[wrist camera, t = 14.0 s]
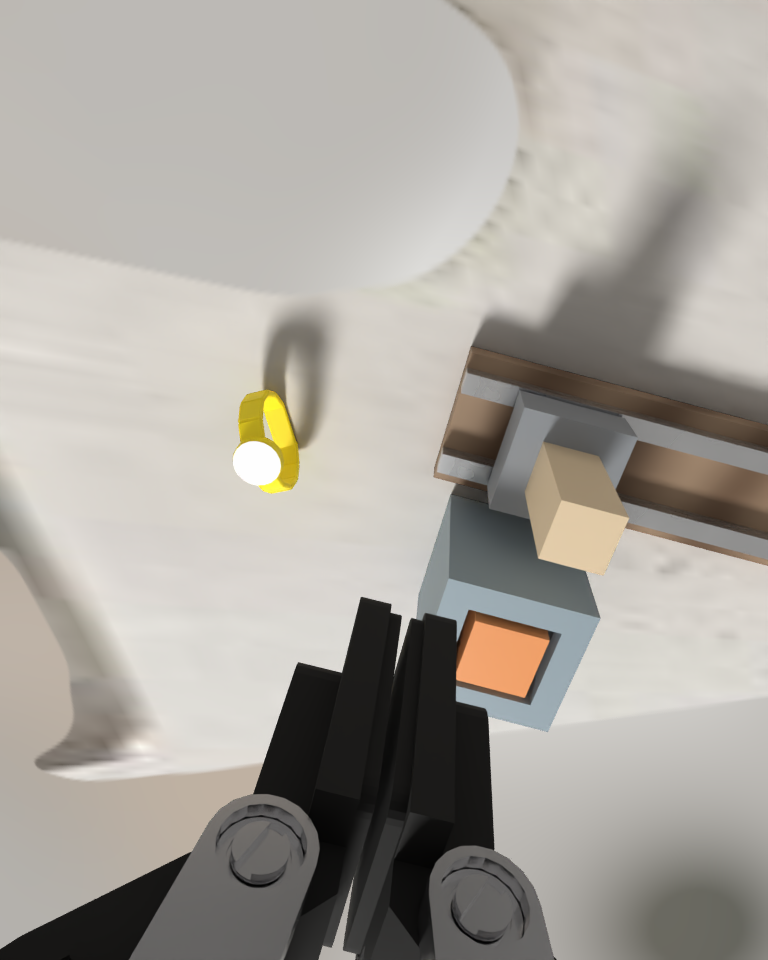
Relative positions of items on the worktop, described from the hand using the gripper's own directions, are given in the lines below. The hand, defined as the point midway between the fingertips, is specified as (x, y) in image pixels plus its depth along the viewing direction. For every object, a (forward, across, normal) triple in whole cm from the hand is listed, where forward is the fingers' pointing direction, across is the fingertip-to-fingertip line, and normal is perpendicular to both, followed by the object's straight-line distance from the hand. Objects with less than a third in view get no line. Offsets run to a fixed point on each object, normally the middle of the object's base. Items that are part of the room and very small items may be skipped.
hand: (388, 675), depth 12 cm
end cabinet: (+31, -7, +15) cm, 35 cm away
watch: (+31, +8, +9) cm, 33 cm away
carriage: (+28, -8, +5) cm, 29 cm away
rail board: (+31, -14, +5) cm, 34 cm away
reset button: (+24, -7, +15) cm, 29 cm away
